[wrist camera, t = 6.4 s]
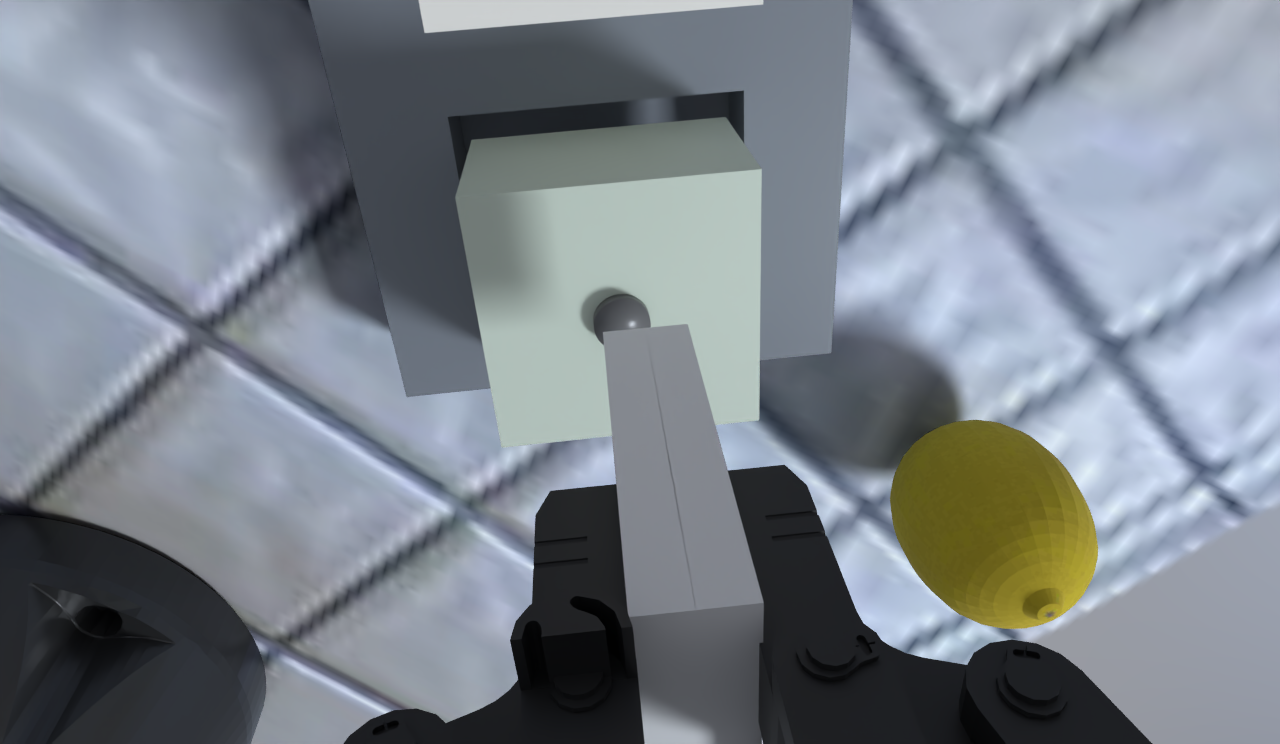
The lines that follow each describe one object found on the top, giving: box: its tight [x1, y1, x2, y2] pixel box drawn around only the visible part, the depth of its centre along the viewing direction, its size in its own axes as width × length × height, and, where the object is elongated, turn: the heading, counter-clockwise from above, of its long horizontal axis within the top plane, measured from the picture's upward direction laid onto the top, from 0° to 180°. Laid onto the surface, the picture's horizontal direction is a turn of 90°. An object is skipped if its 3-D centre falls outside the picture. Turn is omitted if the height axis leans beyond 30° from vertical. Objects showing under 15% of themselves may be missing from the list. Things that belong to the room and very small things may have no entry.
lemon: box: [890, 420, 1098, 629], centre depth 27 cm, size 6×6×8 cm
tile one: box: [455, 117, 762, 448], centre depth 20 cm, size 6×6×4 cm
